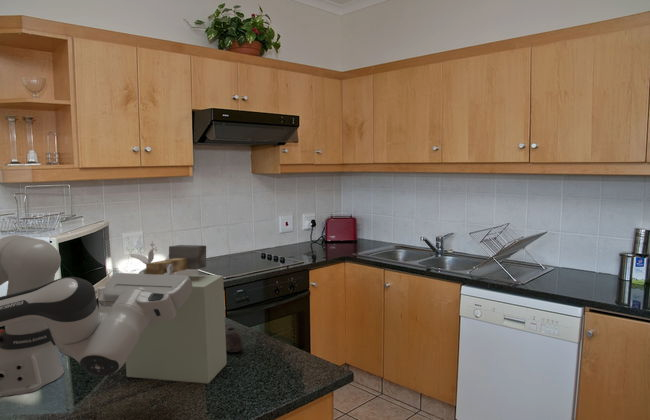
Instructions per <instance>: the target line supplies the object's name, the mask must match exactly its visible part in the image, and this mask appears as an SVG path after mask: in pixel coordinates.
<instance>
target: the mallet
mask: <svg viewBox="0 0 650 420" xmlns="http://www.w3.org/2000/svg"><path fill="white" fill-rule="evenodd" d="M168 256H169V259H168V260H166V259H163V260H159V261H152V262H151V263H147V264H145V266H146V267H145V268H146V274H160V275H164V273H166V272H165V270H164V267H165V266H166V264H173V267H174V270H173V272H172V273H174V272H178V271H183V270H187V269H195V270H196V269H198V270H199V269H203V268H206V267H207V245H196V244H194V245H193V244H191V245H190V244H189V245H188V244H178V245H170V246H168Z"/></svg>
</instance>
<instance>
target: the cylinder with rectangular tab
mask: <svg viewBox="0 0 650 420" xmlns="http://www.w3.org/2000/svg"><path fill="white" fill-rule="evenodd" d="M105 286H106V285H103V286H98V287H97V297H98V299H99V297H100V296H101V295H102V293H103V291H104V288H105ZM98 299H97V300H98ZM98 308H99V311H100V312H101V313H107V312H108V311H109V310H110V308H111V306H106V307H105V306H101V304H99V303H98Z"/></svg>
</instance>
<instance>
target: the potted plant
mask: <svg viewBox="0 0 650 420" xmlns="http://www.w3.org/2000/svg"><path fill="white" fill-rule="evenodd" d="M150 246H151V249H150V250H149V251H148V254H147V256H145V255H141V254H135V253H134V254H133V253H132V254H129V256H130V257H131V258H135V259H136V260H139V261H140V262H141V263H143V264H144V265H146V264H147V263H153V262H154V256H155V254H154V251H155V252H157V251H158V249H157V246H156V247H154V246H155V243H154V242H153V240H152V241H151V244H150Z"/></svg>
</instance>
